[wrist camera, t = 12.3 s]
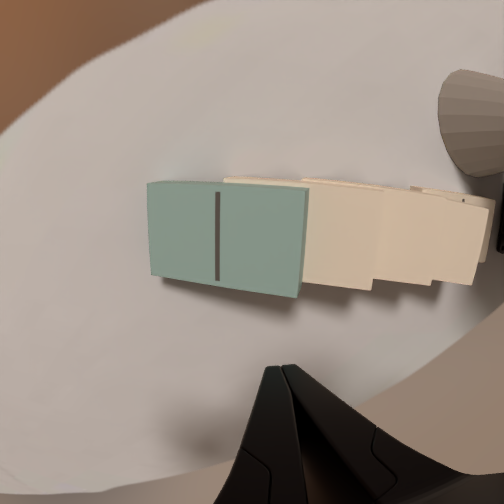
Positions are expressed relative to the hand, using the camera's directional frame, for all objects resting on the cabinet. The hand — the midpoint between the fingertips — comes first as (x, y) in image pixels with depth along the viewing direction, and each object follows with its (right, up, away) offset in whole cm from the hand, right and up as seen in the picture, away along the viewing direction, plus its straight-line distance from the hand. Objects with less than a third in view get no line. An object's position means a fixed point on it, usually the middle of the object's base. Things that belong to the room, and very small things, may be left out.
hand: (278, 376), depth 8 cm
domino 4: (+6, +5, +10) cm, 13 cm away
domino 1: (-6, +5, +9) cm, 11 cm away
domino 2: (-2, +5, +9) cm, 10 cm away
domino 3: (+2, +5, +9) cm, 11 cm away
